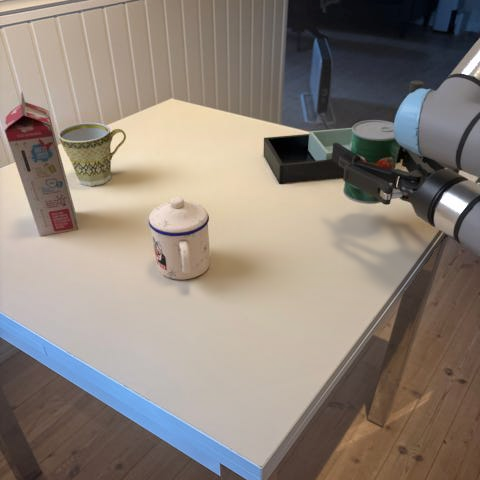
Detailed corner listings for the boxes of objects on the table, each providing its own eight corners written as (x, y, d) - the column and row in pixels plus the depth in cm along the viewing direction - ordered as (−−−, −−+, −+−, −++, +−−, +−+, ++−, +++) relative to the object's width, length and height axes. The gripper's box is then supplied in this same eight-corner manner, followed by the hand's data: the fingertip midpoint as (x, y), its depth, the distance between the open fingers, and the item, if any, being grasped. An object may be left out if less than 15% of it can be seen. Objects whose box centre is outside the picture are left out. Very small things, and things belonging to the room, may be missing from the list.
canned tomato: (351, 206, 81) (361, 140, 73) (337, 184, 87) (345, 121, 79) (397, 201, 82) (411, 136, 74) (380, 180, 87) (391, 118, 80)
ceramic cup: (75, 194, 98) (62, 145, 91) (66, 174, 105) (54, 127, 98) (138, 181, 102) (130, 133, 95) (126, 163, 108) (118, 117, 102)
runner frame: (338, 148, 113) (341, 131, 111) (362, 176, 102) (365, 157, 100) (263, 155, 111) (263, 137, 108) (279, 184, 100) (280, 165, 97)
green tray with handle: (396, 142, 113) (410, 73, 104) (419, 163, 105) (437, 91, 95) (307, 149, 111) (313, 80, 101) (324, 172, 102) (332, 99, 92)
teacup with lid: (153, 252, 82) (143, 188, 74) (207, 246, 83) (202, 182, 75) (159, 296, 73) (149, 229, 65) (219, 288, 74) (215, 221, 67)
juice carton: (75, 212, 92) (42, 89, 78) (78, 229, 88) (43, 102, 73) (38, 217, 91) (-2, 93, 76) (39, 236, 86) (-4, 107, 71)
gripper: (387, 246, 67) (301, 179, 82) (498, 211, 73) (399, 155, 89) (398, 196, 62) (304, 135, 77) (516, 163, 68) (408, 113, 84)
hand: (355, 146), depth 83 cm, fingers closed on canned tomato, 8 cm apart
